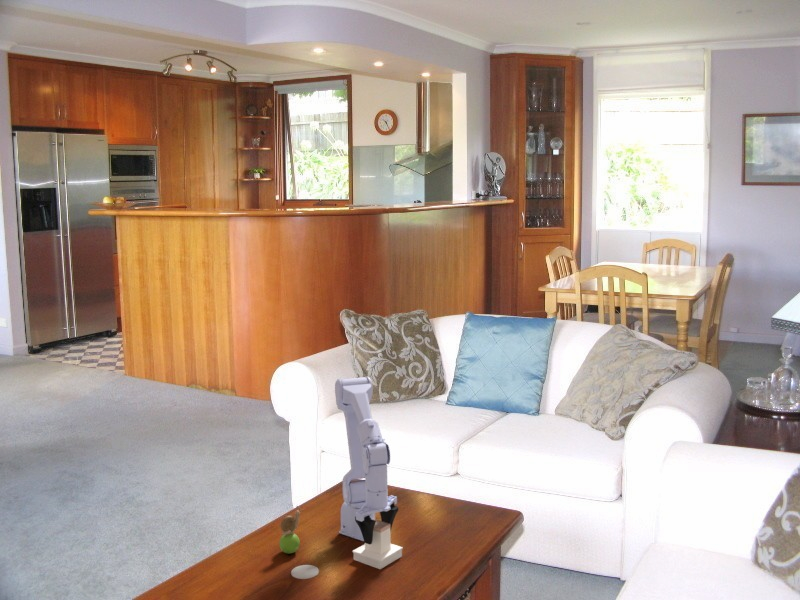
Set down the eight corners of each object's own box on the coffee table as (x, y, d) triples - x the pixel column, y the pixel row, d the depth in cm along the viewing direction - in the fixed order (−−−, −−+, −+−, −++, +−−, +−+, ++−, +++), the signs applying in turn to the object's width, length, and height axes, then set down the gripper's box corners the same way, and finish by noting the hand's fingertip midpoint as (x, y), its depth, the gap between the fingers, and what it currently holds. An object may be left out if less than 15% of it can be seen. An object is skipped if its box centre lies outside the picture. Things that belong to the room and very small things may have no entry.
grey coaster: (285, 574, 212) (285, 572, 211) (305, 564, 217) (304, 562, 217) (305, 582, 207) (305, 580, 207) (324, 572, 213) (324, 570, 213)
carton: (364, 549, 219) (364, 523, 218) (374, 543, 222) (374, 518, 221) (381, 554, 215) (380, 529, 214) (390, 549, 219) (390, 523, 218)
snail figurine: (307, 550, 224) (305, 508, 222) (288, 559, 219) (286, 515, 217) (294, 545, 228) (292, 503, 226) (275, 553, 223) (273, 510, 221)
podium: (352, 559, 218) (352, 550, 218) (375, 546, 226) (375, 538, 225) (380, 569, 213) (380, 560, 212) (402, 556, 220) (402, 547, 220)
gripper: (370, 500, 208) (371, 552, 210) (405, 483, 219) (406, 532, 222) (349, 494, 212) (350, 544, 215) (384, 477, 224) (385, 525, 226)
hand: (377, 537), depth 218 cm, fingers open, 7 cm apart
